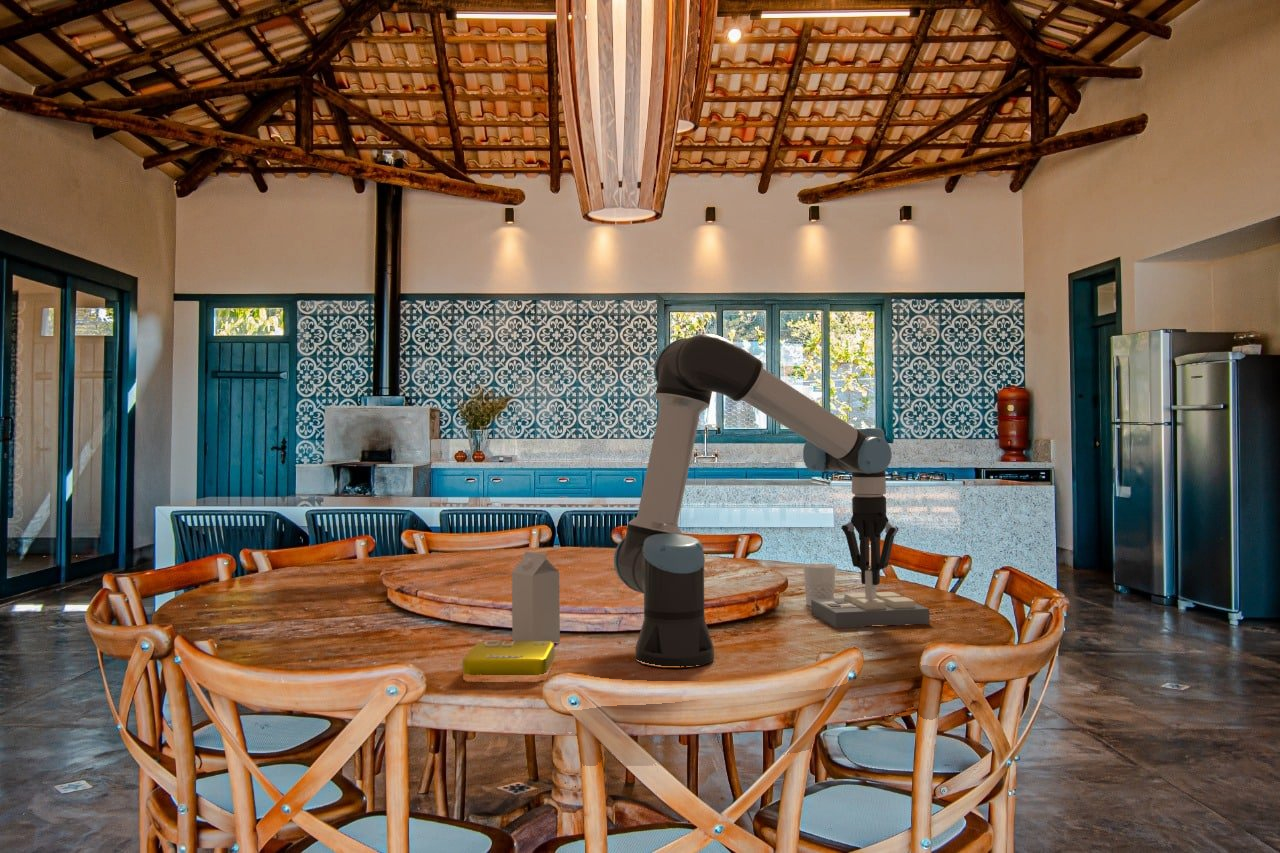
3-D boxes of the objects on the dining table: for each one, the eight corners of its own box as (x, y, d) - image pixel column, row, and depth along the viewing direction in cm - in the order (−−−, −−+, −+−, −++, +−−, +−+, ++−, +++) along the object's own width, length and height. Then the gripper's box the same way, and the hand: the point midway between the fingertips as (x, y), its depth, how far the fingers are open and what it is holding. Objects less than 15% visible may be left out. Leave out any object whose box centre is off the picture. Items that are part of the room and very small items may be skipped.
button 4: (893, 612, 200) (893, 601, 200) (884, 608, 205) (884, 597, 205) (914, 611, 201) (914, 600, 201) (905, 607, 206) (904, 596, 206)
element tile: (460, 685, 156) (459, 657, 156) (478, 663, 171) (478, 638, 171) (545, 684, 156) (544, 657, 156) (555, 663, 171) (555, 638, 171)
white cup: (838, 607, 220) (838, 567, 220) (806, 608, 220) (806, 567, 220) (832, 601, 228) (831, 562, 228) (801, 602, 228) (801, 563, 228)
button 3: (881, 606, 207) (881, 596, 207) (872, 602, 212) (872, 592, 212) (901, 605, 208) (901, 595, 208) (892, 601, 213) (892, 591, 213)
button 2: (864, 613, 199) (864, 602, 199) (855, 609, 204) (855, 598, 204) (885, 612, 200) (885, 602, 200) (876, 608, 205) (876, 598, 205)
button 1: (852, 607, 206) (852, 597, 206) (844, 603, 211) (844, 593, 211) (872, 606, 207) (872, 596, 207) (864, 602, 212) (864, 592, 212)
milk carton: (539, 638, 190) (538, 549, 190) (560, 643, 185) (559, 552, 185) (512, 644, 185) (511, 552, 185) (533, 649, 180) (532, 555, 180)
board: (835, 628, 196) (835, 610, 196) (811, 614, 212) (811, 597, 212) (929, 624, 200) (929, 606, 200) (898, 610, 215) (898, 594, 215)
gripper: (902, 495, 202) (904, 599, 201) (848, 493, 209) (850, 593, 209) (890, 497, 196) (892, 604, 195) (835, 495, 203) (837, 598, 203)
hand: (870, 598), depth 202 cm, fingers closed
